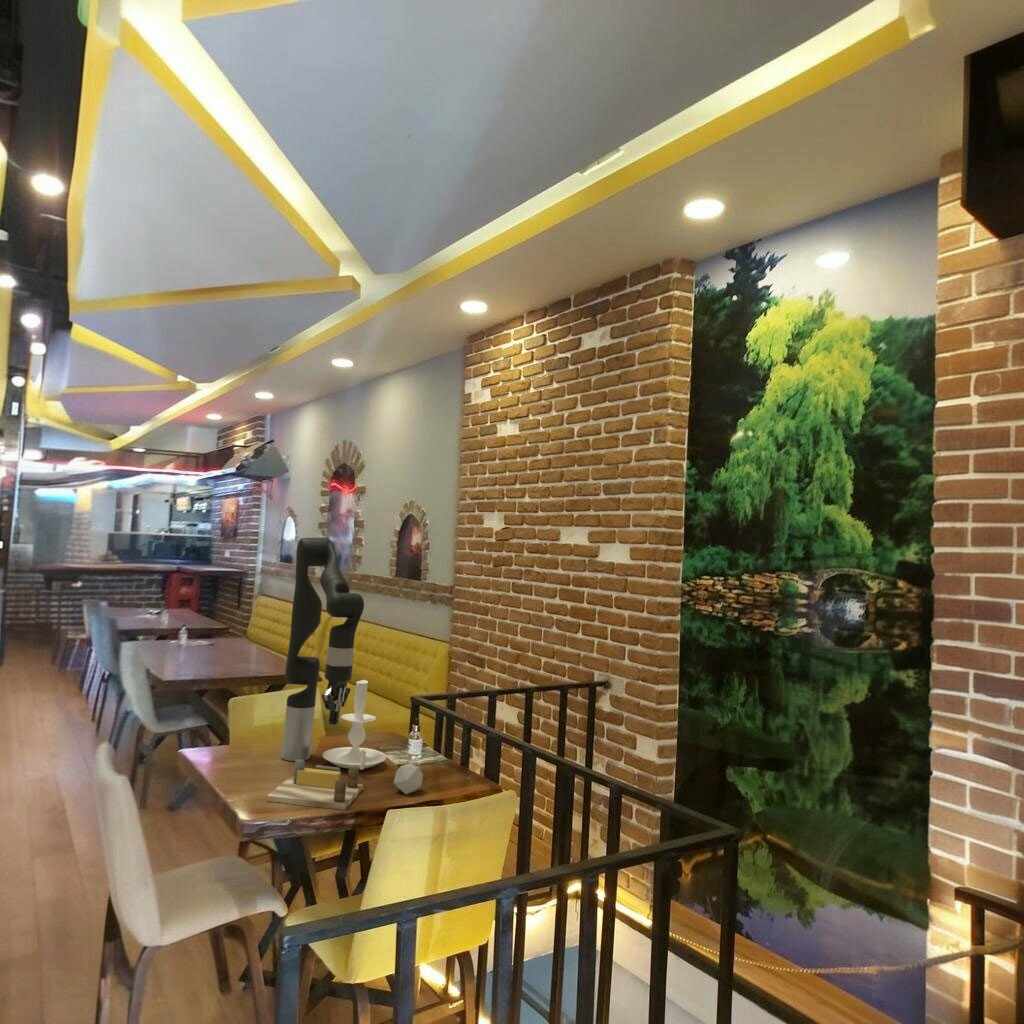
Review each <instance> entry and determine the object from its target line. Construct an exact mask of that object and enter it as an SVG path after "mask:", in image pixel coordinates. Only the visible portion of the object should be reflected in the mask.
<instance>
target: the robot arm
mask: <svg viewBox="0 0 1024 1024" xmlns="http://www.w3.org/2000/svg"><path fill="white" fill-rule="evenodd" d="M295 558H296V559H295V586H294V594H293V602H292V609H291V619H290V620H291V622H290V635H289V636H290V637H289V645H288V649H287V657H286V664H285V672H284V679H285V682H286V683H287V684H289V685H299V686H302V685H303V686H306V688H305V689H303V690H301V691H298V692H295V693H292V694H289V695H288V696H287V699H286V707H285V717H284V726H283V736H282V737H283V738H282V744H281V755H280V756H281V759H282V760H284V761H290V762H295V761H296V760H297V759H303V760H305V761H307V760H309V759H310V758H311V750H312V740H313V732H314V731H313V729H314V719H315V709H316V708H315V707H316V698H317V697H316V696H317V687H318V682H319V675H320V668H321V664H320V662H321V661H320V659H319V657H315V656H301V655H299V653H300V651H301V650H302V647H303V646H304V644H305V642H306V641H307V640H308V639H309V638H310V637H312V635H313V634H314V633H315V631H317V629H318V628H319V626H320V624H321V619H322V611H323V608H322V607H323V604H322V599H321V598H320V596H319V594H318V592H317V591H316V589H315V588H314V586H313V584H312V582H311V580H310V577H309V568H310V567H325V568H324V570H323V571H322V572H321V576H320V579H319V581H320V585H321V588H322V590H323V592H324V594H325V599H326V606H325V608H326V612H327V613H328V615H329V616H331V617H333V618H346V619H345V621H344V622H343V623H341V624H337V625H333V626H332V627H331V628H330V630H329V639H328V640H329V641H328V648H327V651H326V659H325V670H324V679H325V680H327V681H328V684H327V686H326V687H327V688H326V692H324V693H321V699H322V700H323V701H322V702H323V705H324V708H325V709H326V710H328V711H329V718H328V724H329V725H337V724H338V723H339V719H340V711H341V709H342V708H344V707H345V704H346V703H347V700H348V697H349V695H350V693H351V687H347V685H348V681H351V680H352V677H353V676H352V675H353V674H352V673H353V665H354V664H353V663H354V654H355V653H354V646H355V636H356V632H357V631H356V630H357V628H358V626H359V622H360V620H361V617H362V614H363V612H364V608H365V601H364V599H363V597H362V595H361V594H359V593H356V592H355V593H353V592H350V587H349V586H350V585H349V584H348V582H347V580H346V578H345V577H344V575H343V573H342V571H341V566H340V563H339V559H338V556H337V552H336V548H335V545H334V544H333V542H332V540H331V539H329V538H328V537H302V538H300V539H299V540H298V542H297V546H296V557H295ZM298 655H299V656H298Z"/></svg>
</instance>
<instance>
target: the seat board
mask: <svg viewBox="0 0 1024 1024" xmlns="http://www.w3.org/2000/svg"><path fill="white" fill-rule="evenodd" d="M314 769H320V770H329V771H338V772H341V767H339V766H328V765H320V764H318V765H315V767H314ZM347 770H348V771H347V772H348V773H347V781H346V780H340V781H336V782H335V789H334V788H325V787H316V786H307V785H298V784H294V783H293V780H294V776H290V777H288V778H287V779H286V780H284V781H283V782H282V783H281V784H280V785H278V786H276V788H275V789H274V790H272V791H271V792H270V793H269V794H268V795H267V794H266V795H267V796H266V802H269V801H270V803H271V802H272V803H278V802H281V804H287V803H288V804H289V805H296V806H297V805H298V806H307V807H313V808H315V807H316V808H322V809H323V808H324V809H332V810H340V811H341V810H342V811H346V809H347V808H348V807H349V806H350V805H351V803H353V802H354V800H355V799H356V798H357V796H358V795H360V793H361V791H362V790H363V786H364V785H363V784H359V773H360V769H358V768H348V769H347Z"/></svg>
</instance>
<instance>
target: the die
mask: <svg viewBox="0 0 1024 1024" xmlns="http://www.w3.org/2000/svg"><path fill="white" fill-rule="evenodd" d="M423 777H424V773H423V772H422V771H421V770H420V769H419V768H418V767H417V766H416V765H415V764H414V763H412V762H410V763H407V764H404V765H401V766H400V767H399V768H398V769H397V771H396V773H395V775H394V779H393V784H394V785H395V786H396V787H397V788H398V789H399V790H400V792H402V793H403V794H405V795H406V796H407V795H409V794H412V793H414V792H417V791H418V790H419V788H420V787H421V786H422V783H423Z"/></svg>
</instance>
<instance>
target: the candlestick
mask: <svg viewBox="0 0 1024 1024" xmlns="http://www.w3.org/2000/svg"><path fill="white" fill-rule="evenodd" d="M368 683H369V681H368V680H366V679H361V680H358V681H356V682H355V690H354V700H353V701H354V707H353V711H354V713H345V714H343V715H341V716H340V718H341V719H342V720H344V721H347V722H351V724H352V725H351V728H350V729H349V731H348V733H347V739H348V742H349V743H350V745H351V746H346V747H344V746H343V747H336V748H335V747H334V748H331V749H327V750H326V751H324V752H323V753H322V757H323V759H324V760H326V761H328V762H330V763H331V764H333V765H335V767H338V768H344V769H349V768H358V769H359V771H360V770H361V771H363V770H364V769H368V768H372V767H375V766H376V765H379V764H380V763H383V762H384V761H386V759H387V754H385V753H384V752H382V751H379V750H376V749H374V748H368V747H360V745H362V743H364V741H365V739H366V735H367V734H366V731H365V729H364V724H365V723H368V722H373V721H375V720H377V717H376V716H375V715H371V714H367V713H364V712H365V707H366V706H367V705H366V704H367V695H368V694H367V693H368V686H369V685H368Z"/></svg>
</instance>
